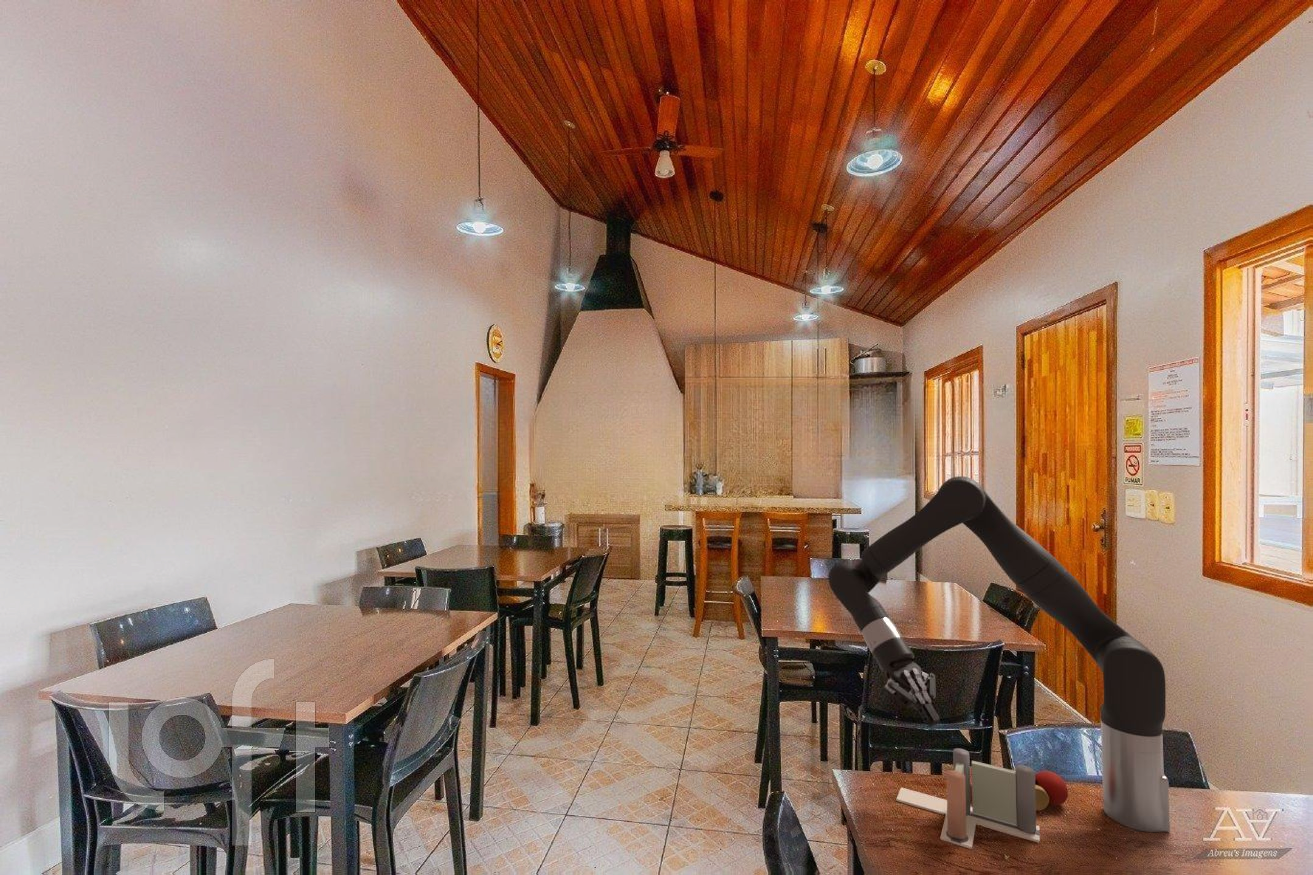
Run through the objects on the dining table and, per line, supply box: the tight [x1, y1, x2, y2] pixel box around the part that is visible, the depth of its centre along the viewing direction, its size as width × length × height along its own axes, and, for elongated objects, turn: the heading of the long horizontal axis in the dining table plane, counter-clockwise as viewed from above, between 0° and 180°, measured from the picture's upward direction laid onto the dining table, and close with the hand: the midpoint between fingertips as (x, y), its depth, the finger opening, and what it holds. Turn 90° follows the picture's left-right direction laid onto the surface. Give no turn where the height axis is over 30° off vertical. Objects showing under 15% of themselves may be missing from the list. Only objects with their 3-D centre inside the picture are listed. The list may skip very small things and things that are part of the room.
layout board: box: [895, 787, 1041, 850], centre depth 110 cm, size 24×14×1 cm, turn 57°
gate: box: [946, 763, 966, 839], centre depth 109 cm, size 9×3×10 cm, turn 147°
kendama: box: [970, 767, 1069, 812], centre depth 118 cm, size 8×6×18 cm
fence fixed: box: [952, 748, 1037, 832], centre depth 111 cm, size 13×3×11 cm, turn 57°
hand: (935, 724), depth 117 cm, fingers closed
